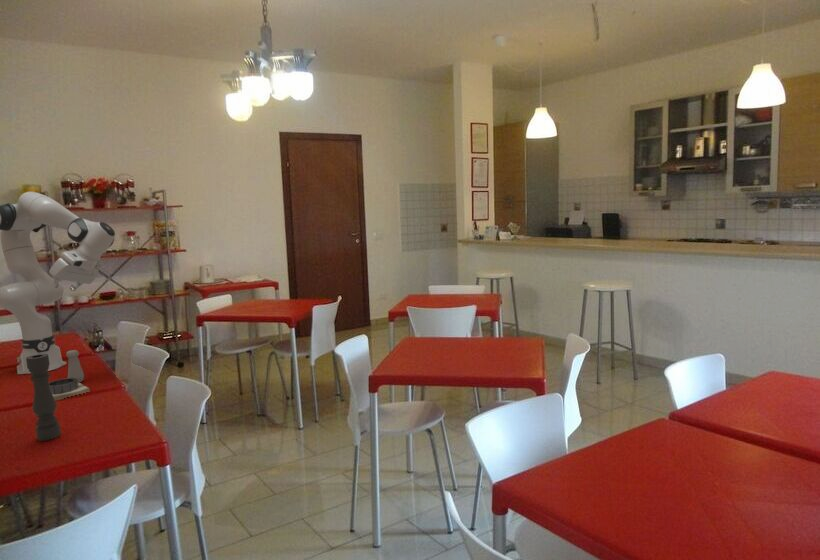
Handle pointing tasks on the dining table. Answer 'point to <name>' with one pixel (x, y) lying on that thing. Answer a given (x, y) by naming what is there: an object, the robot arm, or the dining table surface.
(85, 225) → the robot arm
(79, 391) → the birch stand
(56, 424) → the candle holder
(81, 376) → the salt shaker
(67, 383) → the metal collar
